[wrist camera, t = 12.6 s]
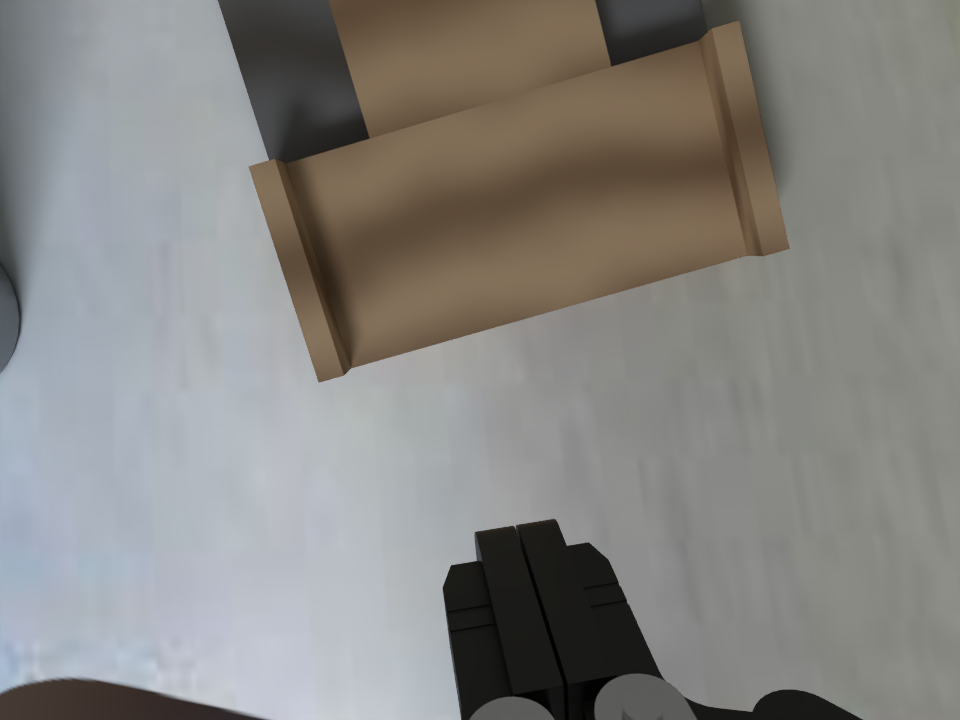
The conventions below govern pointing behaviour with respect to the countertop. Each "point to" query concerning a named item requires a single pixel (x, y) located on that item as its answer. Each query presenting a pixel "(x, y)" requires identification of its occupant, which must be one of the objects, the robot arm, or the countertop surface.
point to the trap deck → (494, 159)
